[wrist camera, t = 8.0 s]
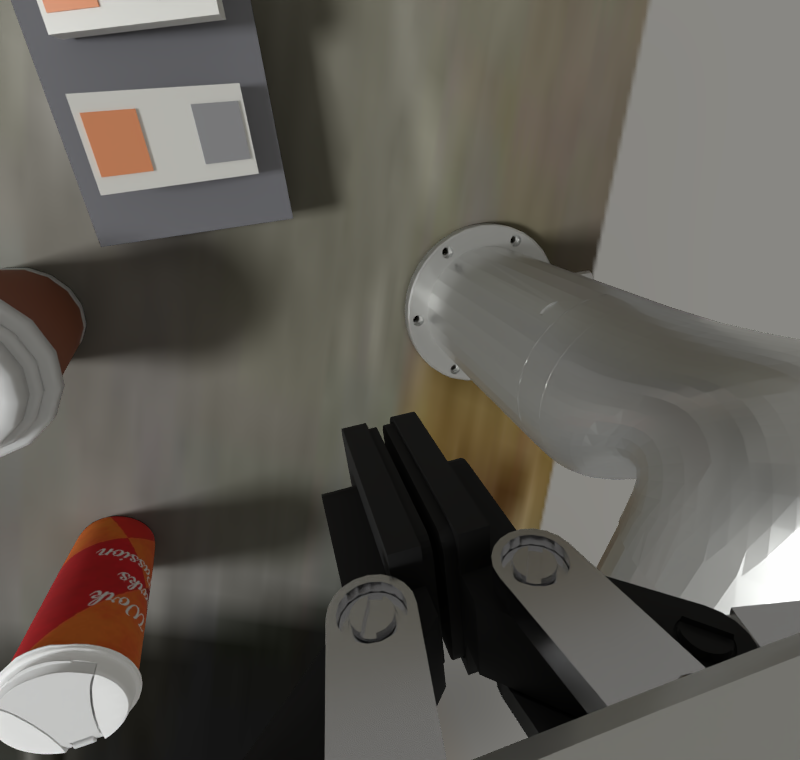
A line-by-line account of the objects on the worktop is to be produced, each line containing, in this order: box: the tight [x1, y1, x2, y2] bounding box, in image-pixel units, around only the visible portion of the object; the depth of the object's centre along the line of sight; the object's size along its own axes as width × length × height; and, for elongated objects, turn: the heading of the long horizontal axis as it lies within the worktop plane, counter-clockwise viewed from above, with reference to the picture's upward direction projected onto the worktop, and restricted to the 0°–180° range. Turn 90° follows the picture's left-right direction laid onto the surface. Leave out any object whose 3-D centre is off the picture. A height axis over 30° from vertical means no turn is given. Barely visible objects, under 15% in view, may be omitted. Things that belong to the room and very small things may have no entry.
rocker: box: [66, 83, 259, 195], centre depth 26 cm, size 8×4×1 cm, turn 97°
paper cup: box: [0, 516, 155, 754], centre depth 34 cm, size 8×8×14 cm
